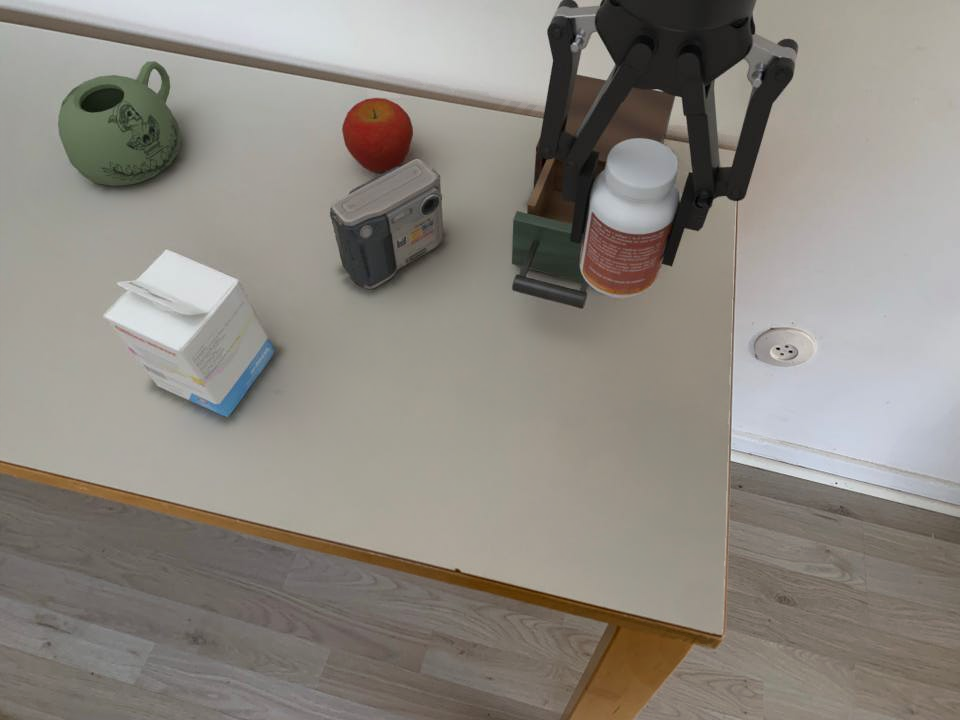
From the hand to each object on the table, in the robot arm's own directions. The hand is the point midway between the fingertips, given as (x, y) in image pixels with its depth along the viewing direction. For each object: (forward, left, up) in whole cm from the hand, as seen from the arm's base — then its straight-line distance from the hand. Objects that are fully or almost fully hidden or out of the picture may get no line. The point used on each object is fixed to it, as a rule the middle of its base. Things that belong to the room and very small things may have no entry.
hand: (624, 240), depth 54 cm
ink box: (-11, +35, -20) cm, 42 cm away
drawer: (+13, +6, -18) cm, 23 cm away
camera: (+8, +24, -20) cm, 32 cm away
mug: (+14, +60, -20) cm, 65 cm away
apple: (+21, +31, -20) cm, 42 cm away
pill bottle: (0, 0, -4) cm, 4 cm away
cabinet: (+26, +6, -19) cm, 33 cm away
